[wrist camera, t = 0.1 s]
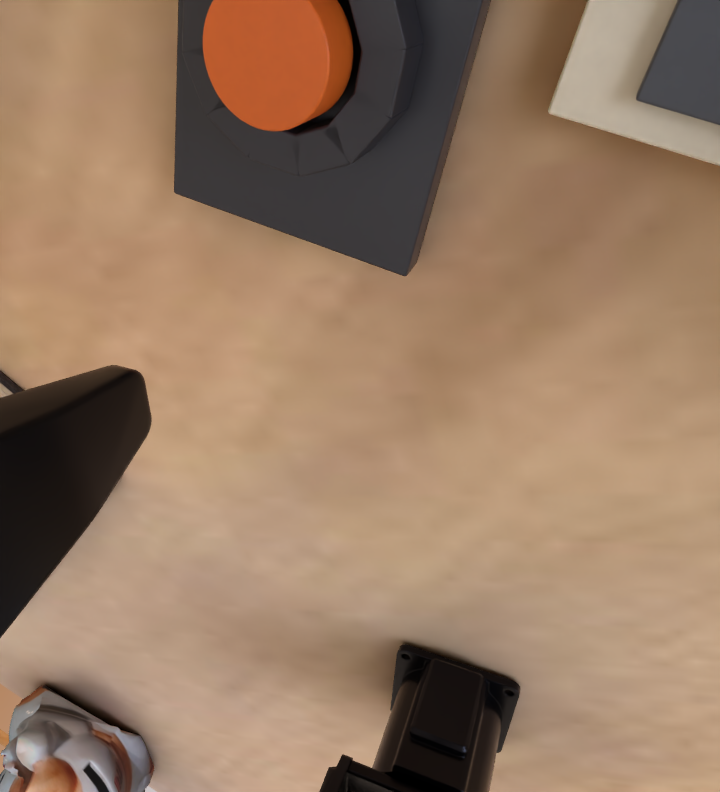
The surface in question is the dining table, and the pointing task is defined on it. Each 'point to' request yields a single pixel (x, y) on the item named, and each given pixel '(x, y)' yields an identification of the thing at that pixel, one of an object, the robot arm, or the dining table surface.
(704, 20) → the coffee machine
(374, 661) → the dining table surface
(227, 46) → the button
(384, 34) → the button pad
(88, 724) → the grey rounded toy
